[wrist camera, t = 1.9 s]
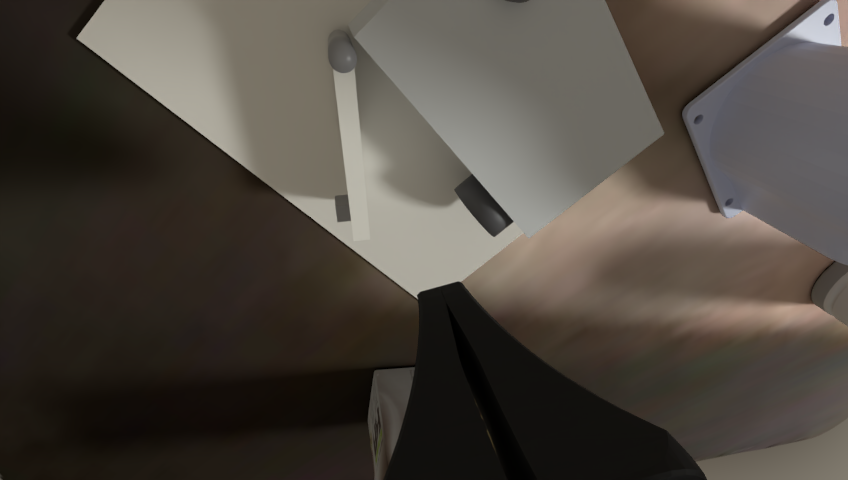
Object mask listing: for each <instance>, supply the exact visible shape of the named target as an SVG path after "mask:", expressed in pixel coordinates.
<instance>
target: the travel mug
mask: <svg viewBox="0 0 848 480" xmlns="http://www.w3.org/2000/svg"><path fill="white" fill-rule="evenodd" d="M811 298H812V301H813V303H814V304H815V305H817V306H818V307H820V308H821V309H823V310H824V311H826V312H827V313H829V314H830V315H833V316H834V317H835V318H836V319H838V320H839V321H841V322H842V323H844V324H845V325H846V326H848V265H845V264H842V263H839V262H837V261H836V262H834V263H833V264H832V265H831V266H830V267H828V268H827V269H826V270H825V271H824V272H823V273H822V274H821V276H820V277H819V278H818V280H817V281H816V283H815V285H814V287H813V289H812V294H811Z"/></svg>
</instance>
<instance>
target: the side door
mask: <svg viewBox="0 0 848 480" xmlns="http://www.w3.org/2000/svg"><path fill="white" fill-rule="evenodd" d="M328 59H329V63H330V65H331V67H332V68H333V74H334V82H335V91H336V99H337V107H338V116H339V124H340V132H341V141H342V149H343V157H344V166H345V174H346V182H347V191H348V195H337V196H335V208H336V215H337V222H346V221H351V224H352V232H353V241H361V240H370V231H369V220H368V209H367V199H366V188H365V177H364V166H363V155H362V144H361V133H360V123H359V112H358V101H357V90H356V79H355V68H354V67H355V66H356V63H357V55H356V52H355V50H354V47H353V45H352V42H351V39H350V37H349V35H348V34H347V33H346V32H345V31H343V30H334V31H333V32H331V33H330V35H329V37H328Z"/></svg>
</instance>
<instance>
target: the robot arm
mask: <svg viewBox="0 0 848 480" xmlns="http://www.w3.org/2000/svg"><path fill="white" fill-rule="evenodd" d="M697 116H698V117H697ZM682 117H683V120H684V122H685V125H686V127H687V130H688V132H689V135H690V137H691V140H692V142H693V145H694V147H695V150H696V152H697V155H698V157H699V160H700V162H701V165H702V167H703V170H704V172H705V175H706V177H707V180H708V182H709V185H710V187H711V190H712V192H713V195H714V197H715V200H716V202H717V205H718V207H719V210H720V212H721V214H722V216H724V217H726V218H732V217H734V216H735V215H737V214H738V213H740V212H741V211H743V210H744V211H746V212H747V213H749V214H751V215H753V216H755V217H756V218H758V219H760V220H762V221H764V222H765V223H767V224H769V225H771V226H772V227H774V228H776V229H778V230H780V231H781V232H783V233H785V234H787V235H789V236H790V237H792V238H794V239H796V240H798V241H799V242H801V243H803V244H805V245H806V246H808V247H810V248H812V249H814V250H815V251H817V252H819V253H821V254H823V255H824V256H826V257H828V258H830V259H832V260H834V261H837V262H839V263H842V264H845V265H848V47H845V46H841V36H840V26H839V16H838V5H837V1H836V0H821V1H819V2H818V3H817V4H815V5H814V6H813V7H812V8H810V9H809V10H808V11H806V12H805V13H804V14H803V15H801V16H800V17H799V18H797V19H796V20H795V21H794V22H792V23H791V24H790V25H788V26H787V27H786V28H785V29H783V30H782V31H781V32H780V33H778V34H777V35H776V36H774V37H773V38H772V39H771V40H769V41H768V42H767V43H765V44H764V45H763V46H762V47H760V48H759V49H758V50H756V51H755V52H754V53H753V54H751V55H750V56H749V57H747V58H746V59H745V60H744V61H742V62H741V63H740V64H738V65H737V66H736V67H735V68H733V69H732V70H731V71H730V72H728V73H727V74H726V75H724V76H723V77H722V78H721V79H719V80H718V81H717V82H715V83H714V84H713V85H712V86H710V87H709V88H708V89H706V90H705V91H704V92H703V93H701V94H700V95H699V96H697V97H696V98H695V99H694V100H692V101H691V102H690V103H688V104H687V105H686V106H685V108H684V110H683V113H682ZM696 117H697V119H696V120H695V118H696ZM694 120H695V121H694ZM417 298H418V304H419V337H418V349H417V357H416V363H415V370H414V376H413V382H412V387H411V391H410V396H409V400H408V404H407V408H406V412H405V416H404V419H403V423H402V426H401V430H400V433H399V436H398V440H397V443H396V446H395V448H394V451H393V454H392V457H391V460H390V462H389V465H388V468H387V471H386V474H385V476H384V479H383V480H707V479H706V477H705V474H704V473H703V472H702V470H701V469H700V467H699V466H698V465H697V464H696V462H695V461H694V460H693V458H692V457H691V456H690V455H689V454H688V453H687V452H686V450H685V449H684V448H683V447H682V446H681V445H680V444H679V443H678V442H677V441H676V440H675V439H674V438H673V437H672V436H671V435H670V434H669V432H668V431H666V430H664V429H662V428H660V427H658V426H656V425H654V424H651V423H649V422H647V421H645V420H643V419H641V418H639V417H637V416H635V415H633V414H631V413H629V412H627V411H625V410H623V409H621V408H619V407H617V406H616V405H614V404H612V403H610V402H608V401H606V400H604V399H603V398H601V397H599V396H597V395H596V394H594V393H592V392H591V391H589V390H587V389H586V388H584V387H582V386H581V385H579V384H578V383H576V382H574V381H573V380H571V379H569V378H568V377H566V376H565V375H563V374H562V373H560V372H559V371H557V370H556V369H554V368H553V367H551V366H550V365H549V364H547V363H546V362H544V361H543V360H542V359H540V358H539V357H538V356H536V355H535V354H534V353H532V352H531V351H530V350H529V349H527V348H526V347H525V346H524V345H522V344H521V343H520V342H519V341H518V340H517V339H515V338H514V337H513V336H512V335H511V334H510V333H508V332H507V331H506V330H505V329H504V328H503V327H502V326H501V325H500V324H499V323H498V322H497V321H496V320H495V319H494V318H493V317H491V316H490V315H489V314H488V313H487V312H486V310H485V309H484V308H483V307H482V306H481V305H480V304H479V303H478V302H477V301H476V300H475V299H474V297H473V296H472V295H471V294H470V293H469V291H468V290H467V289H466V288H465V286H464V285H463V283H461V282H459V281H458V282H454V283H450V284H447V285H443V286H439V287H436V288H432V289H428V290H425V291H421V292H419V294H418V295H417ZM474 399H475V400H474ZM476 404H477V405H476ZM477 406H478V407H477ZM478 409H479V410H478ZM479 411H480V412H479ZM480 413H481V415H482V418H483V420H484V422H485V425H486V427H487V430H488V432H489V435H490V437H491V440H492V442H491V440H490V437H489V435H488V432H487V430H486V427H485V425H484V423H483V420H482V418H481V415H480ZM492 443H493V445H492ZM493 446H494V447H493ZM494 449H495V450H494Z"/></svg>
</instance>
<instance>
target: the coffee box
mask: <svg viewBox="0 0 848 480" xmlns="http://www.w3.org/2000/svg"><path fill="white" fill-rule="evenodd" d="M414 370H415V367H409V368H396V369H382V370H375V371H374V376H373V383H372V390H371V397H370V404H369V412H368V425H369V433H370V441H371V450H372V460H373V469H374V478H375V480H383V479H384V476H385V474H386V471H387V468H388V465H389V462H390V460H391V457H392V454H393V451H394V448H395V446H396V443H397V440H398V436H399V433H400V430H401V426H402V423H403V419H404V416H405V412H406V408H407V404H408V400H409V396H410V391H411V387H412V382H413V376H414ZM474 400H475V399H474ZM476 405H477V404H476ZM477 407H478V406H477ZM478 410H479V409H478ZM479 412H480V411H479ZM480 415H481V413H480ZM481 418H482V415H481ZM482 420H483V418H482ZM483 423H484V425H485V422H484V420H483ZM485 427H486V425H485ZM486 430H487V427H486ZM487 432H488V430H487ZM488 435H489V432H488ZM489 437H490V435H489ZM490 440H491V437H490ZM491 442H492V440H491ZM492 445H493V443H492ZM493 447H494V446H493ZM494 450H495V449H494Z"/></svg>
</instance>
